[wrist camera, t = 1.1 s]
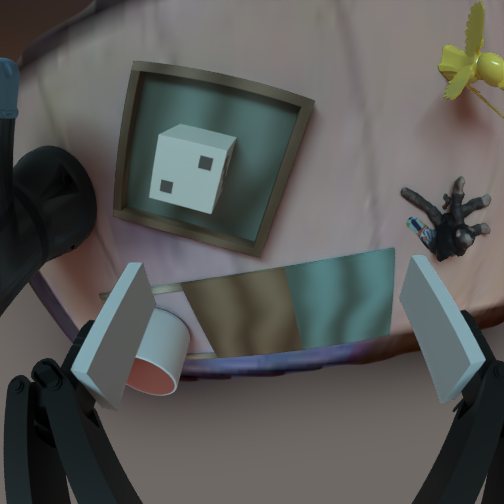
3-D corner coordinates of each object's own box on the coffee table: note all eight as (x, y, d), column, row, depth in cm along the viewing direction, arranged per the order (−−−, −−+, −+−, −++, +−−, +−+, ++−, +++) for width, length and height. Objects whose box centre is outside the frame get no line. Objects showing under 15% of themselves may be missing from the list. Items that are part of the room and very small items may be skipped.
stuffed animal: (484, 254, 32) (450, 295, 28) (432, 228, 40) (389, 260, 35) (501, 175, 26) (473, 200, 22) (440, 155, 33) (395, 172, 29)
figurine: (486, 144, 25) (532, 168, 18) (414, 93, 24) (458, 102, 16) (512, 68, 19) (560, 77, 11) (442, 9, 17) (488, -2, 10)
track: (144, 358, 50) (143, 360, 50) (99, 294, 42) (98, 295, 42) (388, 332, 42) (389, 334, 42) (393, 247, 34) (394, 249, 33)
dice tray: (120, 209, 34) (112, 216, 32) (141, 61, 24) (133, 60, 23) (260, 248, 35) (259, 257, 34) (312, 99, 26) (315, 100, 24)
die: (169, 176, 31) (148, 198, 26) (180, 123, 28) (158, 134, 22) (222, 190, 31) (211, 215, 26) (237, 137, 28) (227, 151, 23)
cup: (137, 340, 47) (118, 386, 39) (128, 298, 42) (102, 347, 34) (192, 351, 47) (179, 401, 39) (191, 310, 42) (173, 364, 34)
